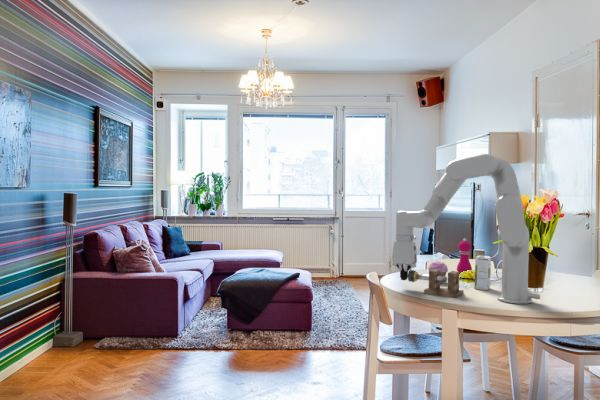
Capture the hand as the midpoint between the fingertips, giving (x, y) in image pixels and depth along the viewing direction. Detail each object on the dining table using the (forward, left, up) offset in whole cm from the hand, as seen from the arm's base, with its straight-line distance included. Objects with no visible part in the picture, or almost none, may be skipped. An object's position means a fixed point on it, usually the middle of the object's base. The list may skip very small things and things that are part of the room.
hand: (403, 279), depth 210 cm
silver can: (-29, -21, -4) cm, 36 cm away
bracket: (-17, 0, -4) cm, 17 cm away
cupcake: (-8, -24, -4) cm, 26 cm away
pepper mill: (-15, -44, -4) cm, 47 cm away
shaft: (-11, 0, 0) cm, 11 cm away
